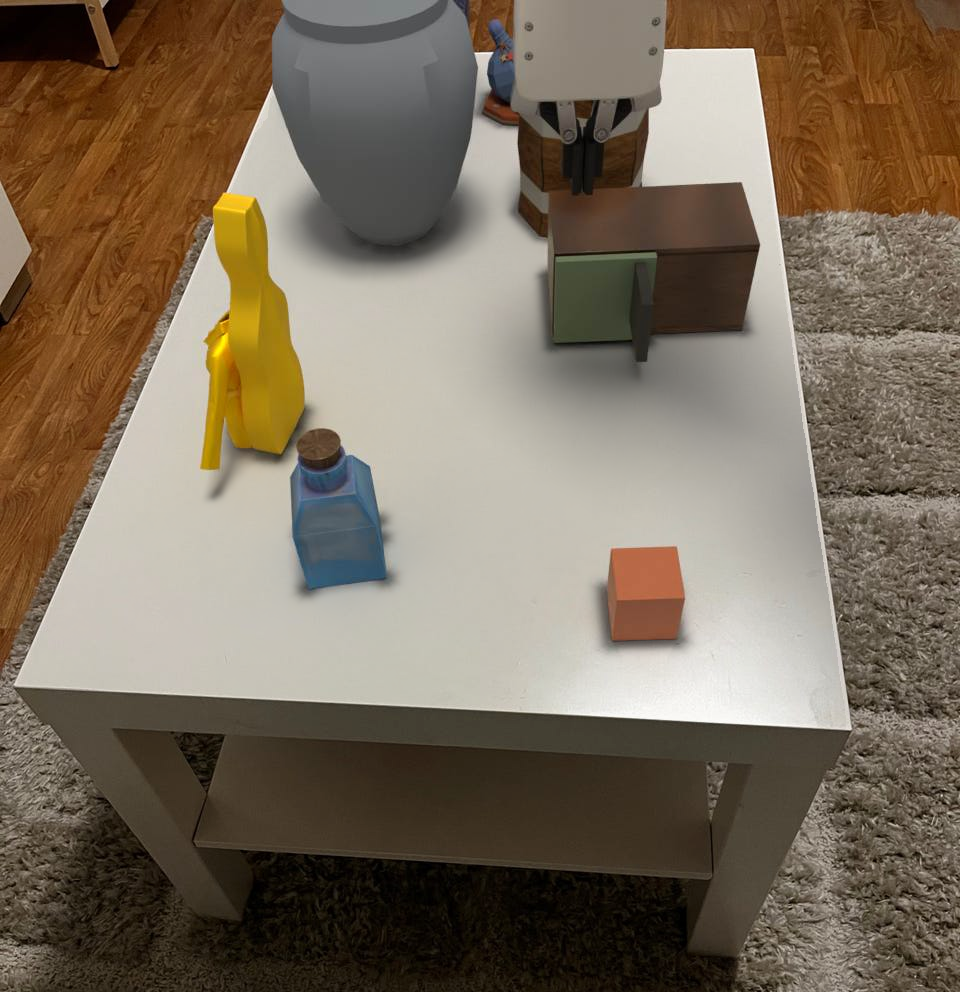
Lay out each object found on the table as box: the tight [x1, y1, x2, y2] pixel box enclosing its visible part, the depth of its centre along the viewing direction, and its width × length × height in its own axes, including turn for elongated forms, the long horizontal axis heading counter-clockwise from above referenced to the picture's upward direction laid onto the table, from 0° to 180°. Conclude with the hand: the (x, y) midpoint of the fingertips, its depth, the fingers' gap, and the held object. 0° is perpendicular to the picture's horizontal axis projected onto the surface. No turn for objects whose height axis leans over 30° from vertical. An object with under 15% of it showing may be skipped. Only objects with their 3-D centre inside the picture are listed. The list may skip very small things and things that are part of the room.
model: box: [481, 18, 519, 127], centre depth 114 cm, size 12×9×9 cm
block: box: [606, 545, 686, 642], centre depth 71 cm, size 5×5×5 cm
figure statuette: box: [199, 192, 306, 471], centre depth 78 cm, size 18×8×22 cm, turn 166°
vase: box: [271, 0, 479, 246], centre depth 95 cm, size 20×20×24 cm
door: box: [553, 252, 657, 364], centre depth 86 cm, size 9×7×9 cm
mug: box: [516, 100, 650, 238], centre depth 101 cm, size 20×14×15 cm
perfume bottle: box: [289, 427, 388, 590], centre depth 73 cm, size 6×6×12 cm
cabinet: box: [546, 181, 761, 339], centre depth 91 cm, size 18×10×9 cm, turn 90°
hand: (580, 185), depth 74 cm, fingers closed
